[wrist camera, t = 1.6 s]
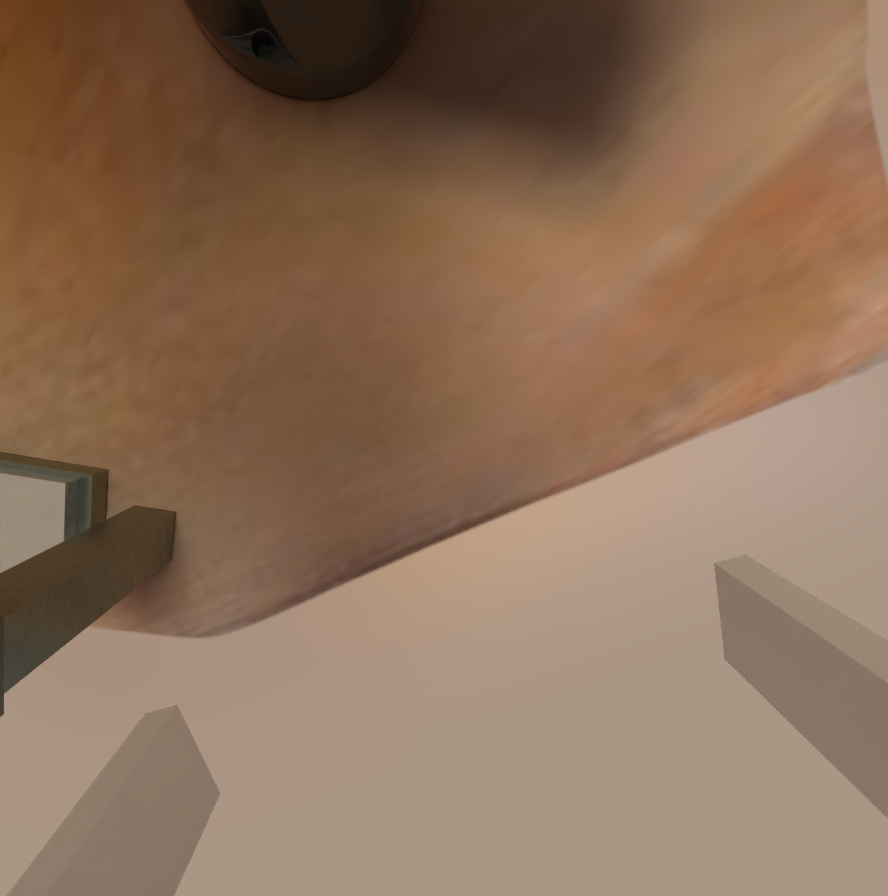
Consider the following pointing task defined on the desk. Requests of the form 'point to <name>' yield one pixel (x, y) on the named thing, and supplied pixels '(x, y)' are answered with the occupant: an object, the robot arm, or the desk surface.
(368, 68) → the robot arm
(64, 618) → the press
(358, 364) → the desk surface
